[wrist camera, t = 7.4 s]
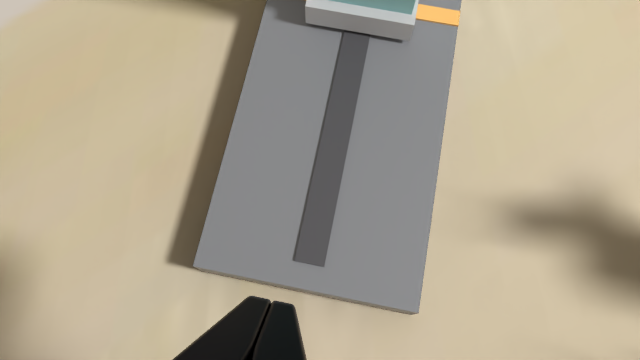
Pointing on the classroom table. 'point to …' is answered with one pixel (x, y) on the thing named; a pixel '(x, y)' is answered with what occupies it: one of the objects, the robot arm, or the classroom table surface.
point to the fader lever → (365, 16)
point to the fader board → (334, 159)
